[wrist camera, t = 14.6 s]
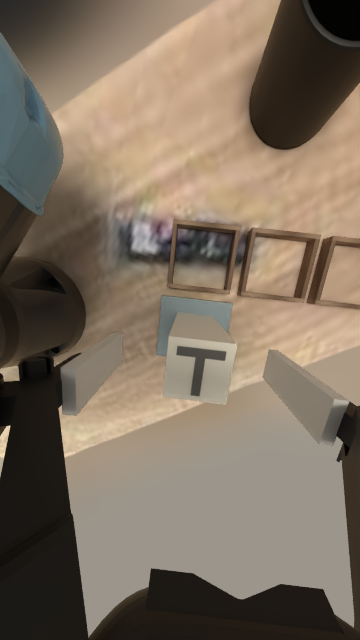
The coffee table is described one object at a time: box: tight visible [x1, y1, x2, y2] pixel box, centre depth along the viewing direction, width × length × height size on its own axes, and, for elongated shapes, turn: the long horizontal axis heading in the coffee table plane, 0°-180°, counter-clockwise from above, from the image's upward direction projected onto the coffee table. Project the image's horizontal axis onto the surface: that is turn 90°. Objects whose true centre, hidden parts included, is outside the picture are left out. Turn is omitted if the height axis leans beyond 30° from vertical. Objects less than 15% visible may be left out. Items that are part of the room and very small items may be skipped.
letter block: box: [163, 312, 237, 405], centre depth 18 cm, size 5×5×12 cm
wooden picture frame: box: [168, 219, 241, 294], centre depth 23 cm, size 8×8×2 cm
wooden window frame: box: [237, 228, 321, 303], centre depth 22 cm, size 8×8×2 cm
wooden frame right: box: [307, 236, 360, 309], centre depth 22 cm, size 8×8×2 cm
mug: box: [250, 0, 360, 148], centre depth 15 cm, size 9×12×9 cm
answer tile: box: [157, 295, 232, 356], centre depth 25 cm, size 10×9×1 cm
